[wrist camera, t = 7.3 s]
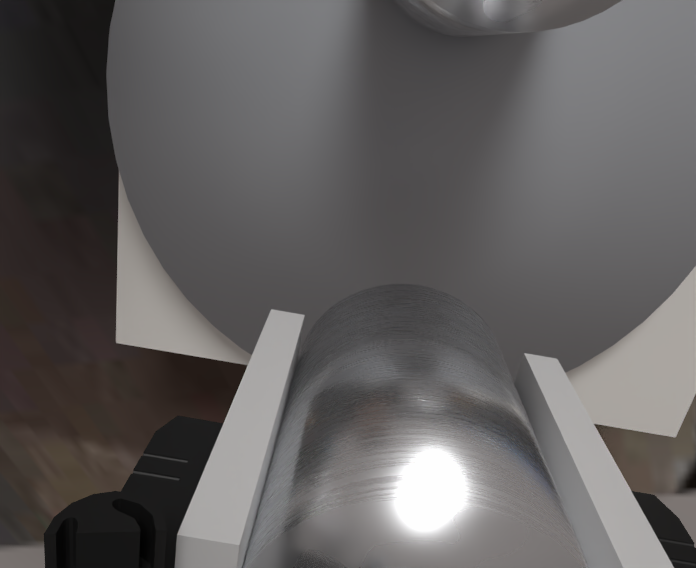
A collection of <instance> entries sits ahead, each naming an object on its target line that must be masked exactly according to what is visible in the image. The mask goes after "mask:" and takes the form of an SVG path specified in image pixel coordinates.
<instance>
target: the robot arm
mask: <svg viewBox="0 0 696 568" xmlns="http://www.w3.org/2000/svg"><path fill="white" fill-rule="evenodd" d="M304 317H305V315H302V314H296V313H290V312H284V311H279V310H273V309H271V311H270V313H269V316H268V318H267V320H266V323H265V325H264V328H263V330H262V332H261V335H260V337H259V340H258V342H257V344H256V347H255V349H254V352H253V354H252V356H251V359H250V361H249V364H248V366H247V368H246V371H245V373H244V376H243V378H242V380H241V383H240V385H239V387H238V390H237V392H236V395H235V397H234V399H233V402H232V404H231V407H230V409H229V411H228V414H227V416H226V419H225V421H224V423H217V422H212V421H206V420H200V419H194V418H188V417H182V416H177V417H175V418H174V419H173V420H171V421H170V422H168V423H167V424H166V425H164V426H163V427H161V428H160V429H159V430H157V431H156V432H155V434H154V436H153V437H152V439H151V441H150V442H149V444H148V446H147V448H146V449H145V451H144V454H143V456H141V458H140V460H139V461H138V463H137V465H136V466H135V468H134V471H133V474H131V475H130V477H129V478H128V480H127V482H126V484H125V485H124V487H123V489H122V490H121V492H118V491H113V492H106V493H99V494H93V495H90V496H88V497H86V498H83V499H81V500H78V501H76V502H73V503H71V504H70V505H69V506H68V507H66V508H65V509H64V510H63V511H61V512H60V513H59V514H57V515H56V516H55V517H54V518H53V520H52V522H51V523H50V525H49V527H48V528H47V530H46V532H45V533H44V547H45V568H243V564H244V561H245V557H246V553H247V549H248V546H249V542H250V538H251V534H252V531H253V527H254V523H255V519H256V516H257V512H258V508H259V504H260V501H261V497H262V493H263V489H264V486H265V482H266V478H267V475H268V471H269V467H270V463H271V460H272V456H273V452H274V448H275V445H276V441H277V437H278V433H279V430H280V426H281V422H282V418H283V415H284V411H285V407H286V403H287V400H288V396H289V392H290V388H291V385H292V381H293V377H294V374H295V370H296V366H297V362H298V356H299V350H300V343H301V337H302V330H303V323H304ZM514 384H515V386H516V389H517V391H518V394H519V396H520V399H521V401H522V404H523V406H524V409H525V411H526V414H527V416H528V418H529V421H530V423H531V426H532V428H533V431H534V433H535V436H536V438H537V441H538V443H539V446H540V448H541V450H542V453H543V455H544V458H545V460H546V463H547V465H548V468H549V470H550V473H551V475H552V478H553V480H554V482H555V485H556V487H557V490H558V492H559V495H560V497H561V500H562V502H563V505H564V507H565V510H566V512H567V514H568V517H569V519H570V522H571V524H572V527H573V529H574V532H575V534H576V537H577V539H578V542H579V544H580V547H581V549H582V551H583V554H584V556H585V559H586V561H587V564H588V566H589V568H696V548H694V542H693V540H692V539H691V537H690V536H689V534H688V532H687V531H686V529H685V528H684V526H683V524H682V523H681V521H680V519H679V518H678V517H677V516H676V515H675V514H674V513H673V512H672V511H671V510H669V509H668V508H667V507H666V506H665V505H664V504H663V503H662V502H661V501H660V500H659V499H658V498H657V497H656V496H655V495H651V494H646V493H640V492H634V491H631V490H630V488H629V486H628V484H627V483H626V481H625V479H624V477H623V475H622V474H621V472H620V470H619V468H618V466H617V465H616V463H615V461H614V459H613V458H612V456H611V454H610V452H609V450H608V449H607V447H606V445H605V443H604V441H603V440H602V438H601V436H600V434H599V432H598V431H597V429H596V427H595V425H594V424H593V422H592V420H591V418H590V416H589V415H588V413H587V411H586V409H585V407H584V406H583V404H582V402H581V400H580V398H579V397H578V395H577V393H576V391H575V390H574V388H573V386H572V384H571V382H570V381H569V379H568V377H567V375H566V373H565V372H564V370H563V368H562V366H561V364H560V363H559V361H558V359H556V358H550V357H544V356H539V355H533V354H527V353H524V355H523V358H522V361H521V364H520V367H519V370H518V374H517V377H516V380H515V383H514Z"/></svg>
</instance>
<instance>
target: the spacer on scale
mask: <svg viewBox="0 0 696 568" xmlns="http://www.w3.org/2000/svg"><path fill="white" fill-rule="evenodd" d="M392 1H393V3H394V4H395V5H396V6H397V7H398V8H399V9H400V10H401V11H402V12H403V13H404V14H405V15H406V16H407V17H409V18H410V19H411V20H412V21H414V22H415V23H417V24H419V25H421V26H422V27H424V28H426V29H429V30H431V31H433V32H436V33H440V34H444V35H448V36H458V37H467V36H484V35H498V34H512V33H526V32H540V31H546V30H551V29H557V28H562V27H565V26H569V25H572V24H575V23H578V22H581V21H584V20H586V19H588V18H591V17H593V16H595V15H597V14H599V13H602V12H604V11H606V10H607V9H609V8H610V7H612V6H614V5H615V4H617V3H619V2H620V1H622V0H392Z"/></svg>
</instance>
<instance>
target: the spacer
mask: <svg viewBox="0 0 696 568" xmlns="http://www.w3.org/2000/svg"><path fill="white" fill-rule="evenodd" d="M243 568H589V566H588V564H587V561H586V559H585V556H584V554H583V551H582V549H581V547H580V544H579V542H578V539H577V537H576V534H575V532H574V529H573V527H572V524H571V522H570V519H569V517H568V514H567V512H566V510H565V507H564V505H563V502H562V500H561V497H560V495H559V492H558V490H557V487H556V485H555V482H554V480H553V478H552V475H551V473H550V470H549V468H548V465H547V463H546V460H545V458H544V455H543V453H542V450H541V448H540V446H539V443H538V441H537V438H536V436H535V433H534V431H533V428H532V426H531V423H530V421H529V418H528V416H527V414H526V411H525V409H524V406H523V404H522V401H521V399H520V396H519V394H518V391H517V389H516V386H515V384H514V381H513V379H512V377H511V374H510V372H509V369H508V367H507V364H506V362H505V359H504V357H503V354H502V352H501V349H500V347H499V345H498V342H497V340H496V338H495V336H494V334H493V332H492V331H491V329H490V327H489V326H488V325H487V324H486V322H485V321H484V320H483V319H482V317H481V316H480V315H478V314H477V313H476V312H475V311H474V310H473V309H472V308H471V307H469V306H468V305H467V304H465V303H464V302H462V301H461V300H459V299H457V298H455V297H454V296H452V295H450V294H448V293H445V292H442V291H440V290H437V289H434V288H430V287H426V286H421V285H413V284H388V285H381V286H375V287H372V288H368V289H364V290H361V291H359V292H356V293H354V294H351V295H350V296H348V297H346V298H344V299H342V300H341V301H339V302H337V303H336V304H335V305H333V306H332V307H331V308H329V309H328V310H327V311H326V312H325V313H324V314H323V315H322V316H321V317H320V318H319V319H318V320H317V321H316V323H315V324H314V325H313V327H312V328H311V329H310V331H309V333H308V334H307V336H306V338H305V340H304V342H303V345H302V347H301V350H300V353H299V357H298V362H297V366H296V370H295V374H294V377H293V381H292V385H291V388H290V392H289V396H288V400H287V403H286V407H285V411H284V415H283V418H282V422H281V426H280V430H279V433H278V437H277V441H276V445H275V448H274V452H273V456H272V460H271V463H270V467H269V471H268V475H267V478H266V482H265V486H264V489H263V493H262V497H261V501H260V504H259V508H258V512H257V516H256V519H255V523H254V527H253V531H252V534H251V538H250V542H249V546H248V549H247V553H246V557H245V561H244V564H243Z"/></svg>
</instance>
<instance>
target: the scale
mask: <svg viewBox="0 0 696 568" xmlns="http://www.w3.org/2000/svg"><path fill="white" fill-rule="evenodd" d="M106 80H107V99H108V118H109V124H110V130H111V135H112V141H113V147H114V152H115V158H116V162H117V165H118V169H119V198H118V253H117V307H116V343H120V344H125V345H131V346H137V347H143V348H149V349H155V350H161V351H167V352H173V353H179V354H185V355H191V356H196V357H202V358H208V359H214V360H220V361H226V362H232V363H238V364H244V365H248V364H249V361H250V359H251V356H252V354H253V352H254V349H255V347H256V344H257V342H258V340H259V337H260V335H261V332H262V330H263V328H264V325H265V323H266V320H267V318H268V316H269V313H270V311H271V309H273V310H279V311H284V312H290V313H296V314H302V315H305V317H304V323H303V330H302V337H301V343H300V350H301V347H302V345H303V342H304V340H305V338H306V336H307V334H308V333H309V331H310V329H311V328H312V327H313V325H314V324H315V323H316V321H317V320H318V319H319V318H320V317H321V316H322V315H323V314H324V313H325V312H326V311H327V310H328V309H329V308H331V307H332V306H333V305H335V304H336V303H337V302H339V301H341V300H342V299H344V298H346V297H348V296H350V295H351V294H354V293H356V292H359V291H361V290H364V289H368V288H372V287H375V286H381V285H388V284H413V285H421V286H426V287H430V288H434V289H437V290H440V291H442V292H445V293H448V294H450V295H452V296H454V297H455V298H457V299H459V300H461V301H462V302H464V303H465V304H467V305H468V306H469V307H471V308H472V309H473V310H474V311H475V312H476V313H477V314H478V315H480V316H481V317H482V319H483V320H484V321H485V322H486V324H487V325H488V326H489V327H490V329H491V331H492V332H493V334H494V336H495V338H496V340H497V342H498V345H499V347H500V349H501V352H502V354H503V357H504V359H505V362H506V364H507V367H508V369H509V372H510V374H511V377H512V379H513V381H514V383H515V380H516V377H517V374H518V370H519V367H520V364H521V361H522V358H523V355H524V353H527V354H533V355H539V356H544V357H550V358H556V359H558V361H559V363H560V364H561V366H562V368H563V370H564V372H565V373H566V375H567V377H568V379H569V381H570V382H571V384H572V386H573V388H574V390H575V391H576V393H577V395H578V397H579V398H580V400H581V402H582V404H583V406H584V407H585V409H586V411H587V413H588V415H589V416H590V418H591V420H592V422H593V424H599V425H605V426H611V427H617V428H623V429H629V430H635V431H641V432H647V433H652V434H658V435H664V436H670V437H676V435H677V433H678V431H679V429H680V427H681V424H682V422H683V420H684V418H685V416H686V413H687V411H688V409H689V407H690V405H691V403H692V400H693V398H694V396H695V394H696V0H622V1H620V2H619V3H617V4H615V5H614V6H612V7H610V8H609V9H607V10H606V11H604V12H602V13H599V14H597V15H595V16H593V17H591V18H588V19H586V20H584V21H581V22H578V23H575V24H572V25H569V26H565V27H562V28H557V29H551V30H546V31H540V32H526V33H512V34H498V35H484V36H467V37H458V36H448V35H444V34H440V33H436V32H433V31H431V30H429V29H426V28H424V27H422V26H421V25H419V24H417V23H415V22H414V21H412V20H411V19H410V18H409V17H407V16H406V15H405V14H404V13H403V12H402V11H401V10H400V9H399V8H398V7H397V6H396V5H395V4H394V3H393V1H392V0H115V5H114V10H113V15H112V19H111V24H110V29H109V43H108V57H107V71H106ZM300 350H299V353H300ZM298 357H299V356H298Z"/></svg>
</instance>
